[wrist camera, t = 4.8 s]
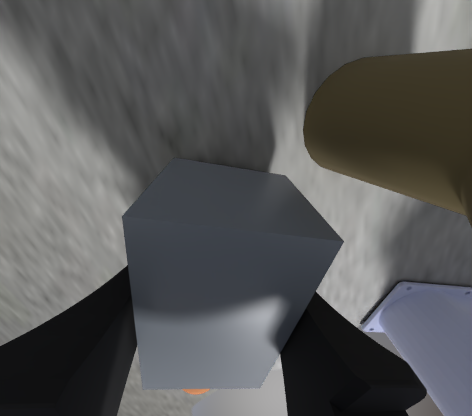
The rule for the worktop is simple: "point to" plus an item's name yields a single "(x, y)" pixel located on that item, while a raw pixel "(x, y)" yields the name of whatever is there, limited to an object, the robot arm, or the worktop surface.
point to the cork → (399, 125)
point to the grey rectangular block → (220, 273)
